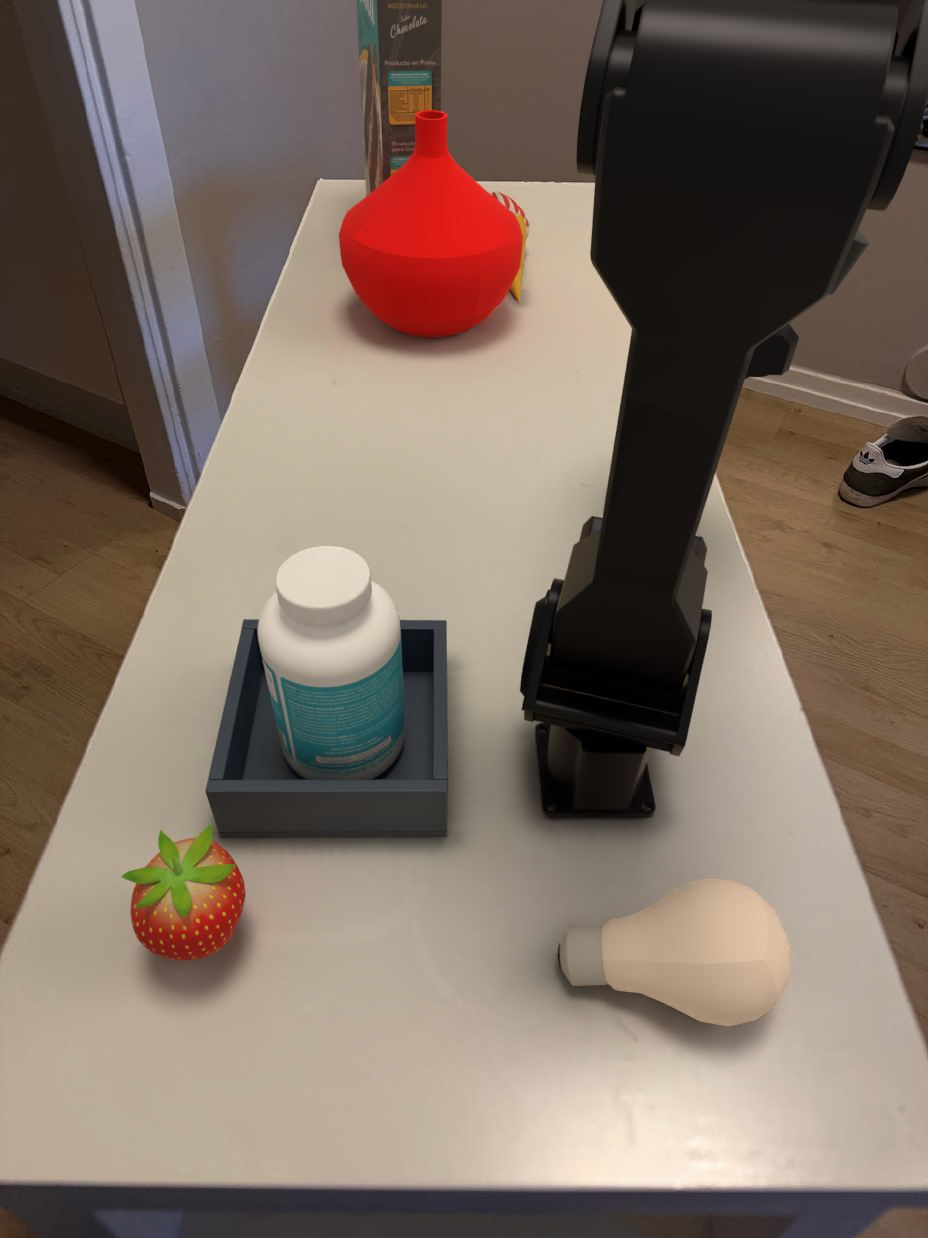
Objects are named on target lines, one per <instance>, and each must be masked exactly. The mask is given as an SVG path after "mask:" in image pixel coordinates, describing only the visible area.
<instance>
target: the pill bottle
mask: <svg viewBox="0 0 928 1238" xmlns="http://www.w3.org/2000/svg"><path fill="white" fill-rule="evenodd" d="M371 575H372V574H371V570H370V566H369V564H368V563H367V561H366V560H365V559H364V558H363V556H361V555H360V554H358V553H357V552H355V551H353V550H351V549H349V548H346V547H342V546H336V545H319V546H312V547H309V548H306V549H303V550H300V551H297V552H295V553H294V554H292V555H291V556H290V557H288V558H287V559H286V560H285V561H283V563H282V564H281V565H280V567H279V568H278V570H277V572H276V576H275V588H276V591H275V592H274V593H273V594H272V596H270V597H269V599H268V600H267V601H266V603H265V604H264V607H263V608H262V610H261V613H260V615H259V623H258V641H259V646H260V651H261V655H262V660H263V664H264V669H265V674H266V679H267V684H268V688H269V692H270V697H271V702H272V707H273V711H274V716H275V721H276V726H277V730H278V735H279V739H280V744H281V748H282V752H283V754H284V756H285V758H286V760H287V762H288V763H289V765H290V766H291V767H292V768H293V770H295V771H296V772H297V773H298V774H299V775H300V776H302V777H303V778H305V779H307V780H372V779H374V778H376V777H377V776H379V775H380V774H382V773H383V772H384V771H386V770H387V769H388V768H389V767H390V766H391V765H392V764H393V763H394V761H395V760H396V758H397V757H398V755H399V753H400V751H401V749H402V746H403V743H404V738H405V712H404V692H403V670H402V650H401V629H400V620H401V619H400V614H399V610H398V607H397V606H396V603H395V601H394V600H393V598H392V596H391V595H390V594H389V592H388V591H386V589H384V588H383V587H382V585H379V584H378V583H376V582H375V581H373V580H372V576H371Z"/></svg>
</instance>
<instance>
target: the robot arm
mask: <svg viewBox="0 0 928 1238" xmlns="http://www.w3.org/2000/svg"><path fill="white" fill-rule="evenodd" d="M927 103H928V0H602V3H601V8H600V12H599V16H598V20H597V24H596V29H595V32H594V35H593V40H592V45H591V49H590V53H589V58H588V63H587V67H586V72H585V77H584V83H583V91H582V95H581V102H580V108H579V117H578V127H577V138H576V169H577V174H580V175H583V176H592V177H594V179H595V180H594V190H593V193H594V194H593V205H592V206H593V207H592V224H591V236H590V237H591V238H590V252H589V256H590V261H591V264H592V266H593V268H594V269H595V271H596V273H597V274H598V276H599V277H600V279H601V281H602V282H603V284H604V286H605V287H606V289H607V291H608V293H609V294H610V296H611V297H612V298H613V300H614V303H616V305H617V307H618V308H619V310H620V312H621V313H622V315H623V316H624V318H625V319H626V321H627V323H628V325H629V326H630V328H631V331H630V340H629V346H628V353H627V359H626V365H625V371H624V372H625V373H624V378H623V384H622V391H621V397H620V405H619V408H618V409H619V410H618V416H617V422H616V430H615V436H614V441H613V448H612V453H611V454H612V455H611V461H610V467H609V474H608V480H607V486H606V493H605V499H604V503H603V504H604V505H603V511H602V517H600V516H595V515H592V516H590V517H589V518H588V519H587V520H586V521H585V522H584V523H583V524H582V527H581V530H580V535H579V539H578V541H577V542H575V543H574V544H573V545H572V549H571V553H570V556H569V559H568V564H567V568H566V573H565V574H564V575H565V576H564V579H560V578H558V577H557V578H556V577H554V578H553V580H552V582H551V585H550V588H548V589H547V591H546V594H545V596H543V597H541V598H540V599H538V600H537V601H536V602H535V603H534V608H533V613H532V618H531V622H530V623H531V624H530V628H529V633H528V638H527V643H526V647H525V653H524V658H523V664H522V669H521V676H520V684H519V692H520V693H521V695H522V696H523V700H522V705H521V711H523V720H524V721H527V722H532V723H534V722H538V723H537V724H536V726H534V727H535V728H534V742H535V751H536V762H537V772H538V773H537V774H538V784H539V794H540V805H541V812H542V814H543V816H544V817H546V818H549V819H649V818H652V817H654V815H655V813H656V810H657V806H656V805H657V804H656V800H655V795H654V790H653V785H652V780H651V776H650V771H649V765H648V758H649V755H650V751H651V749H654V750H657V751H661V752H668V753H669V755H671V756H676V757H680V756H681V754H682V752H683V750H684V748H685V747H686V743H687V740H688V735H689V730H690V725H691V720H692V717H693V712H694V706H695V703H696V698H697V695H698V694H697V693H698V688H699V684H700V680H701V675H702V671H703V665H704V661H705V658H706V657H705V656H706V653H707V647H708V643H709V638H710V633H711V626H712V619H713V610H712V609H708V608H703V605H704V598H705V593H706V586H707V579H708V574H709V573H708V572H709V571H708V569H707V567H706V565H705V563H706V558H707V553H708V547H707V544H706V542H705V539H704V536H700V535H697V534H698V533H697V532H698V530H699V526H700V523H701V520H702V516H703V514H704V510H705V508H706V504H707V501H708V497H709V494H710V492H711V487H712V485H713V482H714V478H715V476H716V472H717V469H718V465H719V462H720V460H721V457H722V453H723V449H724V446H725V443H726V440H727V437H728V433H729V431H730V428H731V427H730V426H731V425H732V422H733V417H734V414H735V411H736V408H737V405H738V402H739V399H740V396H741V392H742V390H743V386H744V382H745V380H747V379H748V378H765V377H769V376H782V375H784V374H785V373H787V372H789V371H790V368H791V366H792V362H793V358H794V355H795V352H796V350H797V346H798V343H799V340H800V336H799V335H798V333H797V331H796V329H795V328H794V326H793V324H792V322H794V320H796V319H798V318H799V317H800V316H802V315H803V314H804V313H805V312H807V311H809V310H810V309H811V308H813V307H814V306H816V305H818V303H820V302H822V301H823V300H824V299H825V298H827V297H828V296H829V295H830V296H831V295H834V294H835V293H836V291H837V290H838V289H839V287H840V286H841V284H842V283H843V282H844V280H845V279H846V277H847V276H848V275H849V273H850V272H851V271H852V269H853V268H854V266H855V265H856V263H857V262H858V261H859V259H860V258H861V256H862V255H863V253H864V252H865V251H866V249H867V248H868V247H869V245H870V241H869V240H868V238H867V237H866V236H865V235H864V234H863V233H862V232H861V231H860V229H859V228H860V226H861V224H862V221H863V219H864V218H865V217H864V216H865V214H866V212H867V211H875V212H884V211H887V209H888V207H889V206H890V204H891V203H892V201H893V200H894V198H895V196H896V194H897V192H898V189H899V187H900V185H901V182H902V181H903V179H904V176H905V173H906V170H907V168H908V165H909V163H910V160H911V157H912V154H913V151H914V148H915V147H916V146H915V145H916V143H917V138H918V135H919V134H920V133H919V132H920V129H921V126H922V123H923V119H924V116H925V111H926V108H927ZM542 731H544V732H542ZM550 807H551V808H553V810H551V809H549V808H550ZM645 807H646V808H648V809H645Z"/></svg>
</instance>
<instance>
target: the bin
mask: <svg viewBox="0 0 928 1238" xmlns="http://www.w3.org/2000/svg"><path fill="white" fill-rule="evenodd" d="M258 623H259V619H257V618H251V619H249V618H244V619H243V620H242V624H241V629H240V633H239V638H238V642H237V648H236V651H235V656H234V661H233V665H232V668H231V669H232V670H231V674H230V678H229V683H228V687H227V692H226V696H225V701H224V706H223V710H222V715H221V719H220V722H219V723H220V724H219V727H218V731H217V732H218V733H217V737H216V742H215V744H214V745H215V747H214V749H213V754H212V759H211V765H210V768H209V773H208V777H207V779H208V780H207V783H206V787H205V796H206V798H207V801H208V804H209V807H210V810H211V813H212V816H213V819H214V823H215V825H216V828H217V831H218V835H219V838H315V837H316V838H337V837H338V838H349V837H350V838H351V837H352V838H354V837H357V838H359V837H361V838H365V837H367V838H368V837H369V838H371V837H373V838H375V837H377V838H378V837H383V838H385V837H387V838H388V837H391V838H392V837H447V836H448V805H449V804H448V802H449V799H448V798H449V772H448V771H449V770H448V769H449V764H448V763H449V761H448V760H449V758H448V757H449V756H448V750H449V749H448V649H447V648H448V639H447V637H448V635H447V634H448V629H447V628H448V627H447V625H448V624H447V620H446V619H400V629H401V650H402V670H403V692H404V712H405V738H404V743H403V746H402V749H401V751H400V753H399V755H398V757H397V758H396V760H395V761H394V763H393V764H392V765H391V766H390V767H389V768H388V769H387V770H386V771H384V772H383V773H382V774H380V775H379V776H377V777H376V778H374V779H372V780H307V779H305V778H303V777H302V776H300V775H299V774H298V773H297V772H296V771H295V770H293V768H292V767H291V766H290V765H289V763H288V762H287V760H286V758H285V756H284V754H283V752H282V748H281V744H280V739H279V735H278V730H277V726H276V721H275V716H274V711H273V707H272V702H271V697H270V692H269V688H268V684H267V679H266V674H265V669H264V664H263V660H262V655H261V651H260V646H259V641H258Z"/></svg>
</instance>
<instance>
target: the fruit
mask: <svg viewBox="0 0 928 1238" xmlns="http://www.w3.org/2000/svg"><path fill="white" fill-rule="evenodd" d="M213 833H214V824H213V823H211V824H209V826H207V827H206V828H205V829H203V830H202V831H201V832H200V833H199V834H198V835H197V836H196V837H189V838H184V839H180V840H178V841H175V842H174V841H173V840H172V839H171V837H169V836H168V835H167V834H165V832H164V831H163V830H162V829H160V830H159V834H158V841H157V842H158V843H157V845H158V850H159V852H158V853H157V854H156V855H155V856H153V857H152V858H151V860H150V861H149V862H148V863H147V864H146V866H144V867H140V868H136V869H132V870H131V869H130V870H128V871H126V872H125V873H123V874H122V875H121V876H120V877H121V878H122V879H124V880H126V881H129V882H132V883H134V884H135V885H134V888H133V890H132V894H131V900H130V921H131V925H132V930H133V932H134V934H135V937H136V939H137V940H138V942H139V943H140V944H141V945H142V946H143V947H144V948H145V949H146V950H147V951H148V952H150V953H152V954H155V955H157V956H159V957H161V958H163V959H167V960H173V961H195V960H200V959H203V958H206V957H209V956H211V955H213V954H216V953H217V952H219V951H220V950H221V949H223V948H224V947H225V946H226V945H227V944H228V943H229V941H230V940H231V938H232V937H233V935H234V932H235V931H236V928H237V925H238V923H239V921H240V918H241V916H242V912H243V909H244V905H245V901H246V885H245V880H244V878H243V875H242V872H241V870H240V868H239V866H238V865H237V863H236V862H235V861H236V860H234V858H233V857H232V856H231V854H230V853H229V852H228V850H227V849H225V848H224V847H223V846H222V845H221V844H220V843H218V842H215V841H213Z"/></svg>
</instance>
